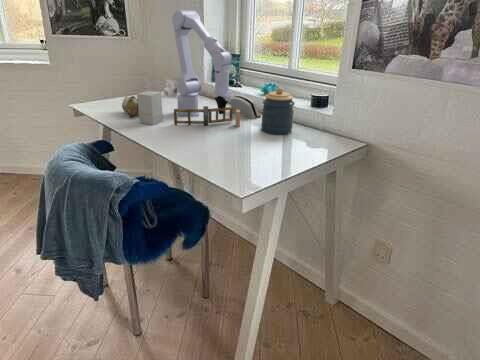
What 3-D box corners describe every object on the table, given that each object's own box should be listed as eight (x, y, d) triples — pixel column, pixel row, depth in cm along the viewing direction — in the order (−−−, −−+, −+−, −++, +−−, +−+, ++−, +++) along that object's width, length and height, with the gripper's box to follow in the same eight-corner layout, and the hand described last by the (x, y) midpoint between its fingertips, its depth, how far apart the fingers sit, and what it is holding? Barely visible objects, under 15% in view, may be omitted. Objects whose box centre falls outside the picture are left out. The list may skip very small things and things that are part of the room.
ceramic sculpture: (135, 91, 168) (153, 98, 159) (136, 108, 172) (153, 117, 163) (114, 94, 161) (131, 102, 152) (116, 112, 165) (132, 121, 156)
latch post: (236, 126, 151) (236, 111, 149) (235, 124, 155) (235, 109, 152) (239, 126, 151) (240, 111, 149) (239, 124, 155) (239, 109, 152)
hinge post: (203, 125, 151) (203, 107, 148) (203, 124, 153) (203, 106, 149) (208, 126, 151) (208, 107, 148) (208, 124, 153) (208, 106, 149)
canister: (255, 127, 152) (257, 85, 144) (282, 124, 157) (285, 83, 149) (269, 136, 141) (273, 91, 134) (297, 133, 146) (302, 90, 138)
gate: (209, 123, 152) (209, 109, 149) (208, 122, 153) (208, 109, 150) (232, 120, 156) (232, 107, 154) (231, 120, 157) (231, 106, 155)
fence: (174, 125, 150) (173, 109, 147) (174, 124, 152) (174, 108, 149) (204, 125, 151) (203, 109, 148) (204, 124, 152) (203, 109, 150)
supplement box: (163, 121, 155) (161, 92, 150) (153, 125, 149) (150, 95, 144) (150, 118, 158) (147, 90, 153) (139, 123, 152) (136, 93, 147)
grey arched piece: (261, 117, 166) (257, 98, 160) (254, 122, 164) (249, 102, 158) (239, 109, 178) (234, 91, 172) (232, 113, 176) (227, 95, 170)
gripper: (237, 84, 145) (236, 117, 151) (224, 78, 156) (223, 108, 162) (221, 85, 142) (221, 118, 148) (209, 79, 154) (209, 110, 160)
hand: (221, 113), depth 155 cm, fingers closed
